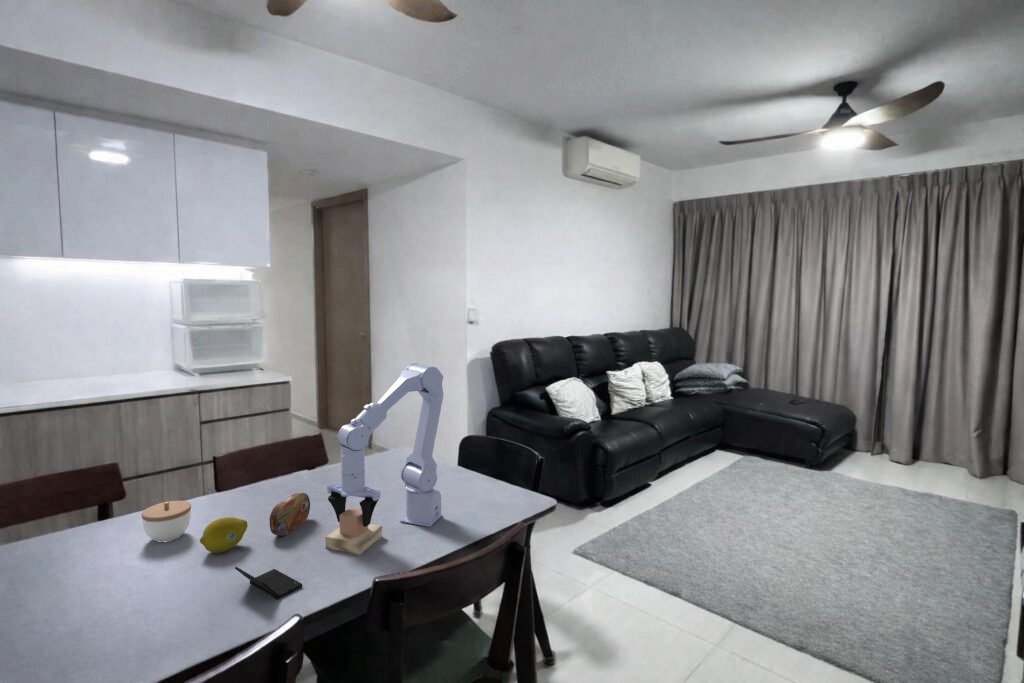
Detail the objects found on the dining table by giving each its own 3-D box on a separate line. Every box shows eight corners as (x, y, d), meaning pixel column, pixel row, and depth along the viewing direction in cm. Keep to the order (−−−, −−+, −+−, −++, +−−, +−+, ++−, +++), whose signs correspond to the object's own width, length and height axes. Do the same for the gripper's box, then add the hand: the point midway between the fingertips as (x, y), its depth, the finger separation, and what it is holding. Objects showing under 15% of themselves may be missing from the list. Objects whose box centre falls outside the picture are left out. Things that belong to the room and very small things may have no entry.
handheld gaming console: (309, 575, 118) (282, 553, 112) (291, 608, 113) (262, 587, 107) (273, 570, 123) (245, 548, 117) (254, 601, 118) (224, 581, 112)
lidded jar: (201, 532, 140) (199, 498, 139) (160, 550, 131) (158, 514, 130) (175, 524, 145) (173, 491, 144) (134, 541, 135) (131, 506, 134)
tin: (278, 541, 136) (277, 510, 135) (267, 540, 137) (266, 509, 136) (311, 517, 151) (310, 488, 150) (301, 516, 151) (300, 487, 151)
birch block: (381, 536, 139) (381, 525, 139) (359, 554, 130) (359, 543, 130) (349, 530, 143) (349, 520, 142) (325, 547, 133) (325, 536, 133)
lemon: (203, 562, 125) (201, 530, 125) (197, 550, 131) (195, 519, 130) (252, 548, 132) (251, 518, 132) (244, 537, 138) (243, 507, 137)
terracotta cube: (368, 528, 138) (367, 509, 137) (356, 536, 133) (356, 517, 132) (351, 525, 139) (351, 507, 139) (339, 533, 134) (339, 514, 134)
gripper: (318, 473, 133) (320, 525, 134) (368, 480, 128) (369, 534, 130) (336, 464, 139) (337, 513, 141) (384, 471, 135) (385, 522, 136)
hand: (354, 522), depth 136 cm, fingers open, 7 cm apart
